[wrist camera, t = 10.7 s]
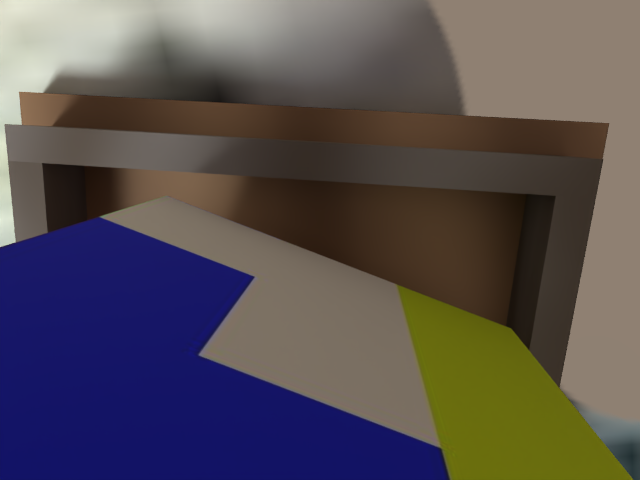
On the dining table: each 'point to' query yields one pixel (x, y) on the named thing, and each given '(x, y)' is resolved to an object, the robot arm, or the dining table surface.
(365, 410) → the puzzle toy
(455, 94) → the dining table surface
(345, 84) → the dining table surface
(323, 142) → the pocket board
